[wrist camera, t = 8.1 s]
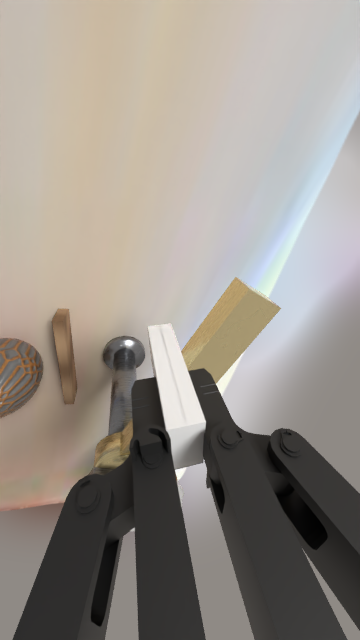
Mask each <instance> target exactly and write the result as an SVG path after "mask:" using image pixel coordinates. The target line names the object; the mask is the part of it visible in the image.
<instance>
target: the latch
mask: <svg viewBox="0 0 360 640" xmlns="http://www.w3.org/2000/svg"><path fill="white" fill-rule="evenodd" d="M280 309H281V308H280V307H279V306H277V305H276V304H275V303H274V302H272V301H271V300H270V299H269V298H268V297H266V296H265V295H263V294H262V293H260V292H259V291H257V290H256V289H254V288H252V287H251V286H249V285H248V284H246V283H245V282H243V281H241V280H240V279H238V278H237V277H235V279H234V280H233V281H232V283H231V284H230V285H229V287H228V288H227V290H226V291H225V292H224V294H223V295H222V296H221V298H220V299H219V300H218V302H217V303H216V305H215V306H214V307H213V309H212V310H211V311H210V313H209V314H208V315H207V317H206V318H205V320H204V321H203V322H202V324H201V325H200V326H199V328H198V329H197V330H196V332H195V333H194V335H193V336H192V337H191V339H190V340H189V341H188V343H187V344H186V345H185V347H184V348H183V350H182V351H181V353H182V356H183V358H184V361H185V364H186V367H187V370H188V371H190V370H196V369H201V368H204V369H206V370H207V371H208V372H209V373H210V374H211V375H212V377H213V379H214V381H215V384H216V383H217V382H218V381H219V380H220V378H221V377H222V376H223V375H224V374H225V373H226V371H227V370H228V369H229V368H230V367H231V366H232V365H233V363H234V362H235V361H236V360H237V359H238V358H239V356H240V355H241V354H242V353H243V352H244V351H245V350H246V348H247V347H248V346H249V345H250V344H251V343H252V341H253V340H254V339H255V338H256V337H257V335H259V333H260V332H261V331H262V330H263V329H264V328H265V326H266V325H267V324H268V323H269V322H270V321H271V319H272V318H273V317H274V316H275V315H276V314H277V313H278V311H279V310H280ZM132 437H133V423H132V419H131V420H130V422H129V423H128V425H127V426H126V427H125V429H124V430H123V431H122V432H118V433H114V434H111V435H109V436H107V437H105V438H104V439H102V440H101V441H100V442H99V443H98V445H97V446H96V451H95V460H94V468H93V469H92V471H91V472H90V473H89V475H91V474H100V475H105V474H107V473H109V472H110V471H112V470H114V469H115V468H117V467H118V466H120V465H121V464H122V463H123V462H124V461H125V460H126V459H127V458H128V456H129V455H130V450H129V446H130V440H131V439H132Z"/></svg>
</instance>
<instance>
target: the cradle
mask: <svg viewBox="0 0 360 640" xmlns="http://www.w3.org/2000/svg"><path fill="white" fill-rule="evenodd" d="M52 325H53V331H54V338H55V344H56V351H57V357H58V364H59V370H60V377H61V383H62V390H63V396H64V403H65V404H74V400H75V396H76V391H77V382H76V373H75V363H74V354H73V345H72V336H71V326H70V317H69V309H58V310H57V312H56V314H55V316H54V318H53V320H52Z"/></svg>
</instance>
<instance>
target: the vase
mask: <svg viewBox="0 0 360 640" xmlns="http://www.w3.org/2000/svg"><path fill="white" fill-rule="evenodd" d="M42 375H43V362H42V358H41V356H40V354H39V353H38V351H37V350H36V349H35V348H34V347H33V346H31V345H30V344H28V343H26V342H24V341H21V340H18V339H11V338H4V339H0V418H2V417H4V416H7V415H9V414H11V413H13V412H15V411H16V410H18V409H19V408H21V407H22V406H23V405H24V404H25V403H26V402H27V401H28V400H29V399H30V398H31V397H32V396H33V394H34V393H35V392H36V390H37V388H38V386H39V384H40V381H41V378H42Z"/></svg>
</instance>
